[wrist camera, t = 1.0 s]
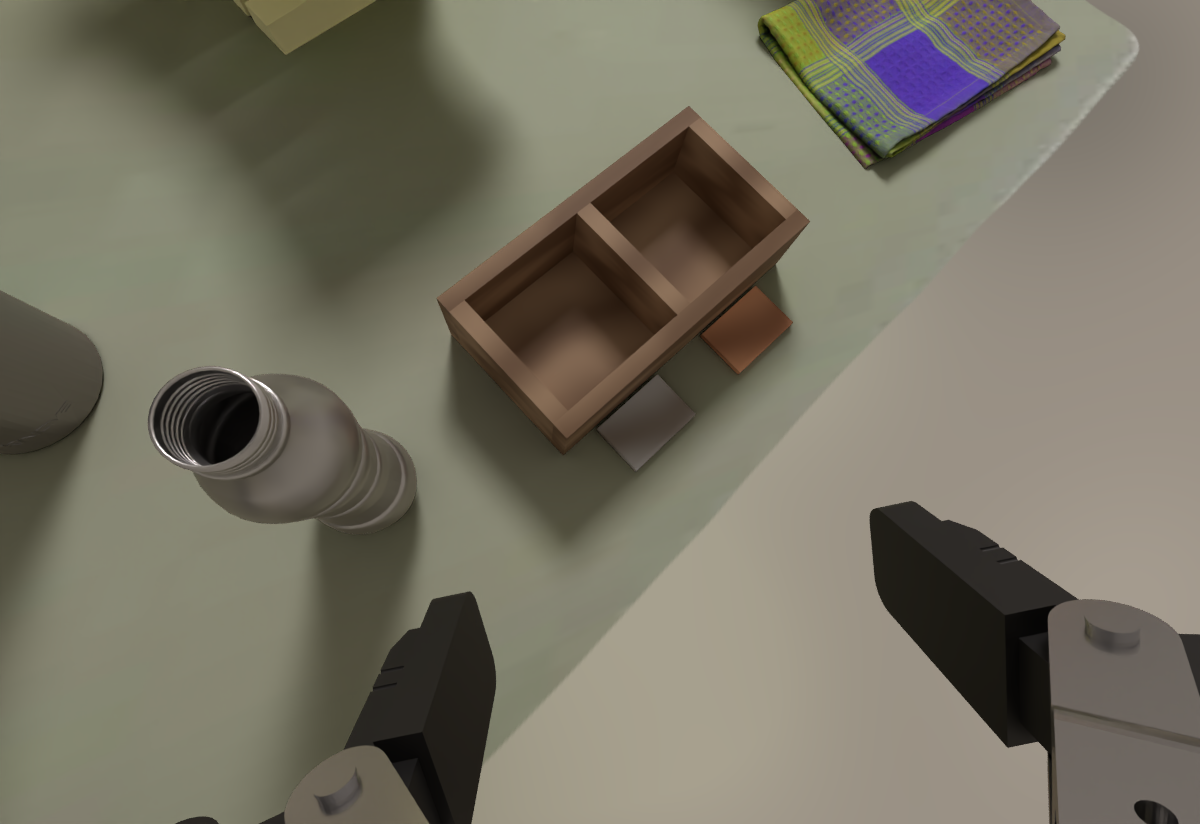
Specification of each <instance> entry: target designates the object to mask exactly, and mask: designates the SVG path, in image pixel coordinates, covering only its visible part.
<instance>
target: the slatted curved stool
mask: <svg viewBox="0 0 1200 824" xmlns="http://www.w3.org/2000/svg"><path fill="white" fill-rule="evenodd" d="M233 1H234V2H235V3H236V4H237V5H238V6H239V7H240V8H241V9H242V11H243V12H244V13H245V14H246V15H247V16H248V17H249V16H252V18H253V20H254V22H255V24H256V25H257V26H258V27H259V28H260V29H261V30H262V31H263V32H264V33H265V34H266V35H267V36H268V37H269V38H270V40H271V41H272V42H273V43H274V44H275V45H276V46H277V47H278V48H279V49H280V50H281V51H282V52H283V53H284V54H285V55H287V54H288V53H290V52H292V51H293V50H295V49H297V48H298V47H300V46H302V45H303V44H305V43H307V42H308V41H310V40H312V39H313V38H315V37H317V36H318V35H320V34H322V33H323V32H325V31H327V30H328V29H330V28H332V27H333V26H335V25H336V24H338V23H340V22H341V21H343V20H345V19H346V18H348V17H350V16H351V15H353V14H355V13H356V12H358V11H360V10H361V9H363V8H365V7H366V6H368V5H370V4H371V3H373V2H375V1H376V0H233Z"/></svg>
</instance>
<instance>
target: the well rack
mask: <svg viewBox="0 0 1200 824" xmlns="http://www.w3.org/2000/svg"><path fill="white" fill-rule="evenodd" d="M809 222H810V221H809V220H808V219H807V218H806V217H805V216H804V215H803V214H802V213H801V212H800V211H799V210H798V209H797V208H796V207H794V206H793V205H792V204H791V203H790V202H789V201H788V200H787V199H786V198H785V197H784V196H783V195H782V194H781V193H780V192H779V191H778V190H777V189H776V188H775V187H773V186H772V185H771V184H770V183H769V182H768V181H767V180H766V179H765V178H764V177H763V176H762V175H761V174H760V173H759V172H758V171H757V170H756V169H755V168H753V167H752V166H751V165H750V164H749V163H748V162H747V161H746V160H745V159H744V158H743V157H742V156H741V155H740V154H739V153H738V152H737V151H736V150H735V149H734V148H732V147H731V146H730V145H729V144H728V143H727V142H726V141H725V140H724V139H723V138H722V137H721V136H720V135H719V134H718V133H717V132H716V131H715V130H714V129H712V128H711V127H710V126H709V125H708V124H707V123H706V122H705V121H704V120H703V119H702V118H701V117H700V116H699V115H698V114H697V113H696V112H695V111H694V110H693V109H691V108H690V107H689V106H688V107H687V108H685V109H684V110H683V111H681V112H680V113H679V114H678V115H676V116H675V117H674V118H672V119H671V120H670V121H668V122H667V123H666V124H664V125H663V126H662V127H660V128H659V129H658V130H657V131H655V132H654V133H653V134H651V135H650V136H649V137H647V138H646V139H645V140H643V141H642V142H641V143H639V144H638V145H637V146H636V147H634V148H633V149H632V150H630V151H629V152H628V153H626V154H625V155H624V156H622V157H621V158H620V159H618V160H617V161H616V162H615V163H613V164H612V165H611V166H609V167H608V168H607V169H605V170H604V171H603V172H601V173H600V174H599V175H597V176H596V177H595V178H594V179H592V180H591V181H590V182H588V183H587V184H586V185H584V186H583V187H582V188H580V189H579V190H578V191H576V192H575V193H574V194H573V195H571V196H570V197H569V198H567V199H566V200H565V201H563V202H562V203H561V204H559V205H558V206H557V207H556V208H554V209H553V210H552V211H550V212H549V213H548V214H546V215H545V216H544V217H542V218H541V219H540V220H538V221H537V222H536V223H535V224H533V225H532V226H531V227H529V228H528V229H527V230H525V231H524V232H523V233H521V234H520V235H519V236H517V237H516V238H515V239H514V240H512V241H511V242H510V243H508V244H507V245H506V246H504V247H503V248H502V249H500V250H499V251H498V252H496V253H495V254H494V255H493V256H491V257H490V258H489V259H487V260H486V261H485V262H483V263H482V264H481V265H479V266H478V267H477V268H475V269H474V270H473V271H472V272H470V273H469V274H468V275H466V276H465V277H464V278H462V279H461V280H460V281H458V282H457V283H456V284H454V285H453V286H452V287H451V288H449V289H448V290H447V291H445V292H444V293H443V294H441V295H440V296H439V297H437V301H438V303H439V306H440V308H441V311H442V313H443V315H444V318H445V320H446V323H447V325H448V328H449V330H450V333H451V335H452V336H453V337H454V338H455V339H456V340H457V341H458V342H459V343H460V344H461V345H462V346H463V348H464V349H465V350H466V351H467V352H468V353H469V354H470V355H471V356H472V357H473V358H474V359H475V361H476V362H477V363H478V364H479V365H480V366H481V367H482V368H483V369H484V370H485V371H486V372H487V374H488V375H489V376H490V377H491V378H492V379H493V380H494V381H495V382H496V383H497V384H498V385H499V387H500V388H501V389H502V390H503V391H504V392H505V393H506V394H507V395H508V396H509V397H510V398H511V400H512V401H513V402H514V403H515V404H516V405H517V406H518V407H519V408H520V409H521V410H522V411H523V413H524V414H525V415H526V416H527V417H528V418H529V419H530V420H531V421H532V422H533V423H534V424H535V425H536V427H537V428H538V429H539V430H540V431H541V432H542V433H543V434H544V435H545V436H546V437H547V438H548V440H549V441H550V442H551V443H552V444H553V445H554V446H555V447H556V448H557V449H558V450H559V451H560V453H561V454H562V455H564V454H565V453H566V452H568V451H569V450H570V449H571V448H572V447H573V446H574V445H575V444H576V443H578V442H579V441H580V440H581V439H582V438H583V437H584V436H585V435H586V434H588V433H589V432H590V431H591V430H592V429H593V428H594V427H595V426H596V425H598V424H599V423H600V422H601V421H602V420H603V419H604V418H605V417H606V416H608V415H609V414H610V413H611V412H612V411H613V410H614V409H615V408H616V407H618V406H619V405H620V404H621V403H622V402H623V401H624V400H625V399H626V398H627V397H629V396H630V395H631V394H632V393H633V392H634V391H635V390H636V389H637V388H639V387H640V386H641V385H642V384H643V383H644V382H645V381H646V380H647V379H649V378H650V377H651V376H652V375H653V374H654V373H655V372H656V371H657V370H659V369H660V368H661V367H662V366H663V365H664V364H665V363H666V362H667V361H669V360H670V359H671V358H672V357H673V356H674V355H675V354H676V353H677V352H679V351H680V350H681V349H682V348H683V347H684V346H685V345H686V344H687V343H689V342H690V341H691V340H692V339H693V338H694V337H695V336H696V335H697V334H699V333H700V332H701V331H702V330H703V329H704V328H705V327H706V326H707V325H709V324H710V323H711V322H712V321H713V320H714V319H715V318H716V317H717V316H719V315H720V314H721V313H722V312H723V311H724V310H725V309H726V308H727V307H729V306H730V305H731V304H732V303H733V302H734V301H735V300H736V299H737V298H739V297H740V296H741V295H742V294H743V293H744V292H745V291H746V290H747V289H749V288H750V287H751V286H752V285H753V284H754V283H755V282H756V281H757V280H759V279H760V278H761V277H762V276H763V275H764V274H765V273H766V272H767V271H769V270H770V269H771V268H772V267H773V266H774V265H775V264H776V263H777V262H778V261H779V259H780V258H781V257H782V256H783V254H784V253H785V252H786V251H787V249H788V248H789V247H790V246H791V244H792V243H793V242H794V241H795V239H796V238H797V237H798V236H799V235H800V233H801V232H802V231H803V230H804V228H805V227H806V226H807V225H808V223H809ZM792 323H793V322H792V321H791V320H790V319H789V318H788V317H787V316H786V315H785V314H784V313H783V312H782V311H781V310H780V309H779V308H778V307H777V306H776V305H775V304H774V303H773V302H772V301H771V300H770V299H769V298H768V297H767V296H766V295H765V294H764V293H763V292H762V291H761V290H760V289H759V288H758V287H756V286H755V287H754V288H752V289H751V290H750V291H749V292H748V293H747V294H746V295H745V296H744V297H742V298H741V299H740V300H739V301H738V302H737V303H736V304H735V305H734V306H732V307H731V308H730V309H729V310H728V311H727V312H726V313H725V314H724V315H723V316H721V317H720V318H719V319H718V320H717V321H716V322H715V323H714V324H713V325H711V326H710V327H709V328H708V329H707V330H706V331H705V332H704V333H703V334H702V335H701V336H700V337H701V338H702V339H703V340H704V341H705V342H706V343H707V344H708V345H709V346H710V347H711V348H712V349H713V350H714V351H715V352H716V353H717V354H718V355H719V356H720V357H721V358H722V359H723V360H724V361H725V362H726V363H727V364H728V365H729V366H730V367H731V368H732V369H733V370H734V371H735V372H736V373H737V374H739V373H740V372H742V371H743V370H744V369H745V368H746V367H747V366H748V365H749V364H750V363H751V362H752V361H753V360H754V359H755V358H756V357H757V356H758V355H759V354H761V353H762V352H763V351H764V350H765V349H766V348H767V347H768V346H769V345H770V344H771V343H772V342H773V341H774V340H775V339H776V338H777V337H778V336H780V335H781V334H782V333H783V332H784V331H785V330H786V329H787V328H788V327H789V326H790V325H791V324H792ZM695 415H696V414H695V412H694V411H693V410H692V409H691V408H690V407H689V406H688V405H687V404H686V403H685V402H684V401H683V400H682V399H681V398H680V397H679V396H678V395H677V394H676V393H675V392H674V391H673V390H672V389H671V388H670V387H669V386H668V385H667V384H666V383H665V381H664V380H663V379H662V378H661V377H660V376H659V375H658V374H657V375H656V376H655V377H654V378H653V379H652V380H651V381H649V382H648V383H647V384H646V385H645V386H644V387H643V388H642V389H641V390H639V391H638V392H637V393H636V394H635V395H634V396H633V397H632V398H631V399H629V400H628V401H627V402H626V403H625V404H624V405H623V406H622V407H621V408H619V409H618V410H617V411H616V412H615V413H614V414H613V415H612V416H611V417H610V418H608V419H607V420H606V421H605V422H604V423H603V424H602V425H601V426H600V427H598V428H597V431H598V432H599V433H600V435H601V436H602V437H603V438H604V439H605V440H606V441H607V442H608V443H609V444H610V445H611V446H612V447H613V448H614V449H615V450H616V452H617V453H618V454H619V455H620V456H621V457H622V458H623V459H624V460H625V461H626V462H627V463H628V464H629V465H630V466H631V468H632V469H633V470H634V471H635V472H636V471H637V470H638V469H639V468H640V467H641V466H642V465H643V464H644V463H645V462H646V461H648V460H649V459H650V458H651V457H652V456H653V455H654V454H655V453H656V452H657V451H658V450H659V449H660V448H661V447H662V446H663V445H664V444H665V443H667V442H668V441H669V440H670V439H671V438H672V437H673V436H674V435H675V434H676V433H677V432H678V431H679V430H680V429H681V428H682V427H683V426H684V425H686V424H687V423H688V422H689V421H690V420H691V419H692V418H693V417H694V416H695Z"/></svg>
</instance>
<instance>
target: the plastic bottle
mask: <svg viewBox="0 0 1200 824" xmlns="http://www.w3.org/2000/svg"><path fill="white" fill-rule="evenodd" d="M148 430H149V434H150V438H151V440H152V442H153V444H154V446H155V448H156V449H157V450H158V451H159V453H160V454H161V455H162V456H163V457H165V458H166V459H167V460H169V461H170V462H172V463H173V464H175V465H177V466H179V467H182V468H184V469H188V470H191V471H193V473H194V476H195V477H196V479H197V481H198V483H199V485H200V487H201V488H202V489H203V490H204V491H205V492H206V493H207V495H208V496H209V497H210V498H211V499H212V500H213V501H214V502H215V503H216V504H218V505H219V506H220V507H222V508H223V509H224V510H226V511H227V512H229V513H230V514H232V515H235V516H237V517H239V518H241V519H244V520H248V521H252V522H256V523H267V524H283V523H291V522H298V521H302V520H307V519H311V518H317V519H318V520H320V521H321V522H322V523H324V524H325V525H327V526H329V527H331V528H333V529H335V530H337V531H340V532H343V533H348V534H358V535H363V534H369V533H374V532H377V531H380V530H383V529H385V528H386V527H388V526H390V525H392V524H393V523H395V522H396V521H398V520H399V519H400V518H401V517H402V516H403V515H404V514H405V513H406V512H407V510H408V509H409V508H410V506H411V504H412V502H413V500H414V497H415V493H416V488H417V477H416V470H415V467H414V464H413V461H412V459H411V457H410V455H409V454H408V452H407V450H406V449H405V448H404V447H403V446H402V445H401V444H400V443H399V442H397V441H396V440H395V439H393V438H392V437H390V436H388V435H386V434H383V433H381V432H377V431H373V430H369V429H363V428H362V427H361V426H360V425H359V424H358V422H357V420H356V418H355V417H354V415H353V413H352V412H351V410H350V409H349V408H348V407H347V405H346V404H345V403H344V402H343V401H342V400H341V399H340V398H339V397H338V396H337V395H336V394H335V393H334V392H333V391H331V390H330V389H329V388H327V387H326V386H324V385H323V384H321V383H318V382H316V381H314V380H312V379H309V378H305V377H301V376H297V375H287V374H262V375H255V376H251V377H247V376H245V375H244V374H242V373H239V372H237V371H235V370H231V369H228V368H223V367H216V366H206V367H198V368H194V369H191V370H187V371H185V372H183V373H181V374H179V375H177V376H175V377H174V378H173V379H171V380H170V381H168V382H167V383H166V384H165V385H164V386H163V387H162V388H161V389H160V391H159V392H158V394H157V395H156V397H155V398H154V400H153V402H152V405H151V407H150V410H149V416H148Z"/></svg>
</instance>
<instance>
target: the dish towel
mask: <svg viewBox="0 0 1200 824" xmlns="http://www.w3.org/2000/svg"><path fill="white" fill-rule="evenodd" d="M758 29H759V33H760V38H761V39H762V40H763V42H764V44H765V45H766V47H767V48H768V50H769V51H770V53H771V54H772V56H773V57H774V59H775V60H776V61H777V63H778V64H779V65H780V67H781V68H782V69H783V70H784V72H785V73H786V74H787V75H788V77H789V78H790V79H791V80H792V82H793V83H794V84H795V85H796V86H797V88H798V89H799V90H800V92H801V93H802V94H803V95H804V96H805V97H806V99H807V100H808V101H809V102H810V104H811V105H812V106H813V107H814V109H815V110H816V111H817V112H818V114H819V115H820V116H821V117H822V118H823V119H824V120H825V122H826V123H827V124H828V125H829V126H830V128H831V129H832V130H833V131H834V132H835V133H836V134H837V135H838V136H839V138H840V139H841V140H842V141H843V143H844V144H845V145H846V146H847V147H848V149H849V150H850V151H851V152H852V154H853V155H854V156H855V157H856V159H857V160H858V161H859V162H860V163H861V165H862V166H863V167H864V168H865V169H867V168H868V166H869V165H873V164H874V163H876V162H878V161H881V160H883V159H885V158H888V157H894V156H895V155H897V154H898V153H900V152H902V151H903V150H905V149H907V148H908V147H910V146H912V145H914V144H915V143H917V142H919V141H921V140H922V139H924V138H926V137H927V136H930V135H932V134H933V133H935V132H937V131H939V130H941V129H943V128H945V127H947V126H948V125H951V124H952V123H954V122H956V121H958V120H959V119H961V118H963V117H965V116H966V115H968V114H970V113H971V112H973V111H975V110H977V109H979V108H981V107H983V106H984V105H986V104H987V103H989V102H991V101H992V100H993V99H995V98H997V97H998V96H1000V95H1001V94H1003V93H1005V92H1007V91H1008V90H1010V89H1012V88H1014V87H1015V86H1017V85H1019V84H1020V83H1022V82H1023V81H1026V80H1027V79H1028V78H1029V77H1031V76H1034V75H1035V74H1036V73H1037V72H1038V71H1039V70H1040V69H1042V68H1045V67H1047V66H1049V65H1050V64H1051V59H1050V57H1051V56H1053V55H1054V54H1056V53H1057V52H1059V51H1060V50H1061V47H1060V45H1059V43H1060V42H1062V41H1063V40H1065V35H1064V34H1063V33H1061V32H1060V31H1059V29H1060V26H1059V25H1058V24H1057V23H1056V22H1054V21H1053V20H1052V19H1051V18H1049V17H1048V16H1047V15H1046V14H1045V13H1044V12H1043V11H1042V10H1041V9H1040V8H1038V7H1037V6H1036V5H1035V4H1034V3H1032V1H1031V0H796V1H794V2H792V3H790V4H788V5H787V6H784V7H782V8H780V9H778V10H775V11H773V12H771V13H768V14H766V15H763V16H762V17H761V18H760V19H759V22H758Z"/></svg>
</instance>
